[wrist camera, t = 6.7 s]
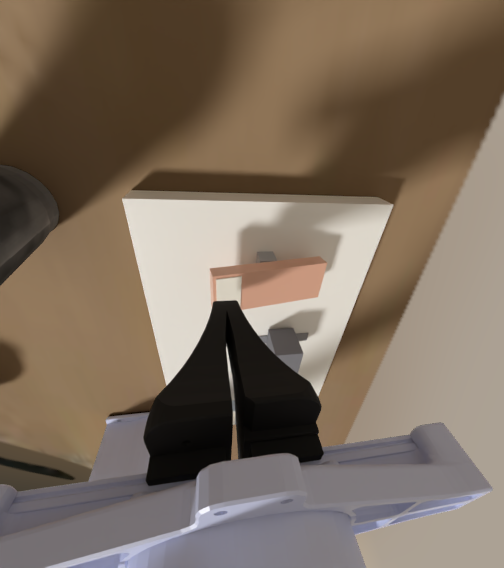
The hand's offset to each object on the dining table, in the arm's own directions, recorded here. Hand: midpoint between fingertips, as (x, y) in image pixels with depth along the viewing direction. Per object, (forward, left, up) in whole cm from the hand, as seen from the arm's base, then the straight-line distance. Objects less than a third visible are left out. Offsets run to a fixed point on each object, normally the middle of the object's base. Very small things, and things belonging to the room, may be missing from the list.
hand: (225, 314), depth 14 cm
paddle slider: (+5, -8, -5) cm, 11 cm away
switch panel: (+3, -8, -7) cm, 11 cm away
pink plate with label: (+3, 0, -3) cm, 4 cm away
